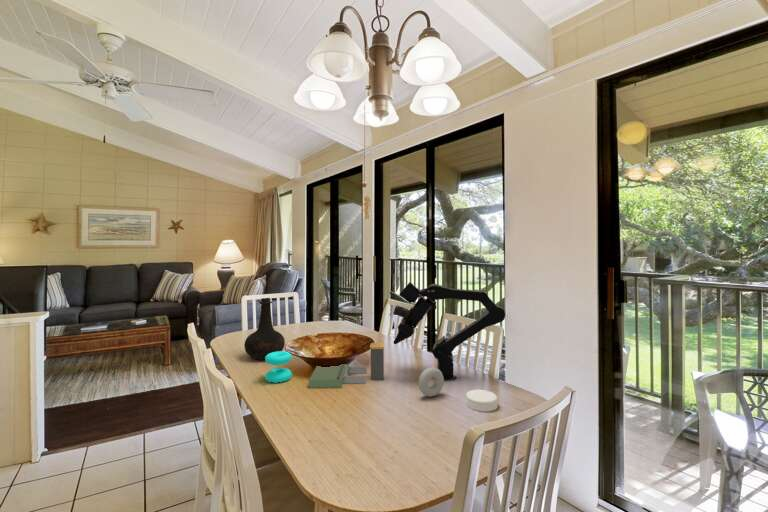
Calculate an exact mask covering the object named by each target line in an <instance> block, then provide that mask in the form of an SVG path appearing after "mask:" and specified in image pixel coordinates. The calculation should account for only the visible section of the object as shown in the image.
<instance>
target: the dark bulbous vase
mask: <svg viewBox="0 0 768 512" xmlns="http://www.w3.org/2000/svg"><path fill="white" fill-rule="evenodd" d="M258 303H259V305H260V312H259V313H260V314H259V322H258V327H257V329H256V330H255V331H254V332H252V333H250V334H249V335H248V336H247V338H246V339H245V341H244V351H245V352H246V354H247V355H248V356H249V357H250V358H252V359H254V360H258V359H265V357H266V355H267V354H269V353H272V352H277V351H284V348H285V346H286V340H285V337H284V336H283V335H282V333H281V332H279V331H277V330H275V328H274V325H273V321H272V311H271V310H272V309H271V308H272V307H271V304H273V301H271V298H270V297H266V298H265V297H264V298H262V297H261V298H260V301H259V302H258Z"/></svg>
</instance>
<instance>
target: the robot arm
mask: <svg viewBox="0 0 768 512" xmlns="http://www.w3.org/2000/svg"><path fill="white" fill-rule="evenodd" d="M398 295H399V296H400V297H401V298H403V299H404V300H405V301H406V302H407V303H409V304H411V303H413V304H414V305H413V306H412V307H410V309H409V308H407V307H403V306H400V305H395V306H394V308H393V309H394V310H393V313H392V315H394V316H398V317H401V318H402V319H401V322H400V323H399V324H398V326H397V330H398V332H397V334H396V336H395V339H394V340H393V342H392V343H393V344H394V345H397V344H399V343H401V342H402V341H405V340H407V339H409V338H411V337H413V335H414V334H415V329H416V327H418V325H419V324H420V322H421V321H422V320H423V319H424V317H425V316H426V314H427V313H428V312H429V311H430V309H431V308H433V309H434V310H437V301H438V300H446V299H447V300H449V299H454V300H465V301H475V302H480V303H481V304H482V305H483V307H484V308H485V309H486V310H485V311H484V312H483V314H481V316H480V317H479V318H477V319H476V320H474V321H472V322H471V323H470V324H468V325H467V326H465V327H464V328H461V330H459V331H457V332H456V333H454V334H453V335H452V336H450V337H445V335H442V336H441V338H439V339H437V340H436V341H435V343H434V344H433V348H432V355H433V357H434V358H435V359H436V360H437V367H436V368H437V369H439V370H440V371H441V372H442V374H443V377H444V382H445V381H448V380H454V379H457V376H456V375H454V356H453V351H454V350H455V349H456V348H457V347H459V345H461V344H463V343H465V342H466V341H468V340H469V339H470V338H472V337H473V336H475V335H476V334H478V333H479V332H481V331H482V330H484V329H485V328H487V327H492V326H495V325H496V324H499V323H501V322H503V321H504V320H505V318H506V312H505V310H504V309H503V308H502V306H500V305H498V304H496V303H494V302H493V300H492V299H491V298H490V297H489V296H488V294H487V292H485V291H484V290H471V289H461V288H451V287H449V286H448V287H447V286H446V285H440V284H438V283H432V284H430V285H428V287H426V288H422V289H419V288H418V287H416V285H414V284H413V283H412V282H411V281H409V282H408V284H407V285H406V286H405V287H404V288H403V289H402V290H401V291H400V293H399V294H398Z"/></svg>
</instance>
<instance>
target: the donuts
mask: <svg viewBox="0 0 768 512" xmlns="http://www.w3.org/2000/svg"><path fill="white" fill-rule="evenodd" d="M292 358H293V357H292V354H291V353H290V352H288V351H284V350H282V351H277V352H272V353H269V354H267V355H266V357H265V360H264V361H265V363H267V364H268V365H271V366H282V365H286V364H288V363H289V362H290V361H291V360H292ZM264 375H265V376H264V378H265V380H266V381H267V382H268V383H271V382H273V384H279V383H278V382H280V383H284V382H286V381H288V380H290V379H291V378H292V375H293V372H292V371H291V370H290V369H288V368H286V367H277V368H276V367H275V368H273V369H270V370H268V371H267V372H266V374H264ZM283 381H284V382H283Z"/></svg>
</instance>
